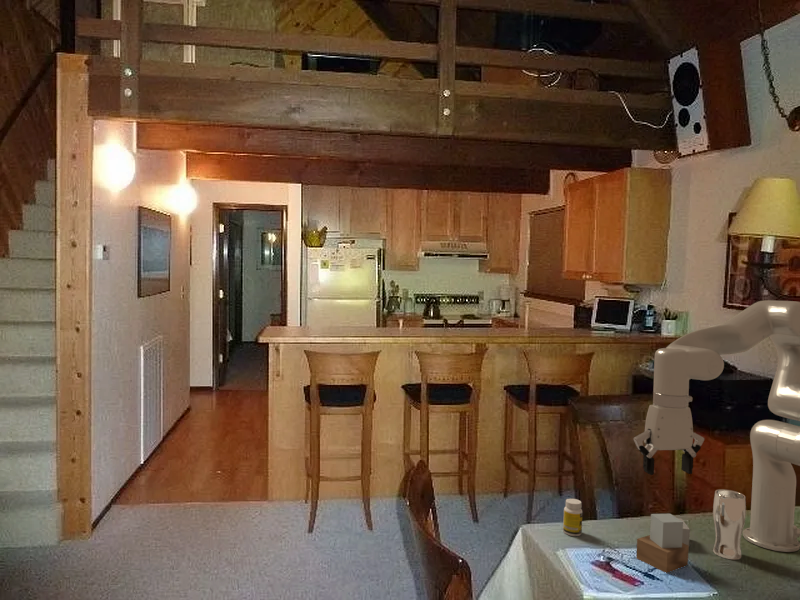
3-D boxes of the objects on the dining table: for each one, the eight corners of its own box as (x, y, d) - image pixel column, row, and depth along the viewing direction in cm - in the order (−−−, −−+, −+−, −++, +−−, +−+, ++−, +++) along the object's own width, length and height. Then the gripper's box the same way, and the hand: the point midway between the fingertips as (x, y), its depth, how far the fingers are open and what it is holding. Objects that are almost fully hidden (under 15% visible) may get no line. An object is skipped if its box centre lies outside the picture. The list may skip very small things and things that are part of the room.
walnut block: (657, 552, 143) (658, 532, 143) (687, 566, 136) (688, 545, 136) (636, 559, 139) (637, 538, 139) (666, 574, 132) (667, 552, 132)
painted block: (669, 538, 140) (670, 513, 140) (681, 547, 135) (683, 522, 135) (649, 538, 139) (651, 514, 139) (662, 548, 134) (663, 522, 134)
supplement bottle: (582, 537, 150) (583, 505, 149) (563, 535, 150) (565, 503, 150) (580, 530, 154) (581, 498, 154) (562, 528, 155) (563, 497, 155)
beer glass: (739, 550, 145) (742, 491, 145) (746, 563, 139) (749, 501, 138) (708, 545, 147) (711, 487, 147) (713, 557, 141) (716, 496, 140)
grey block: (680, 537, 152) (681, 518, 152) (688, 549, 145) (689, 529, 145) (652, 534, 154) (653, 515, 154) (659, 545, 147) (660, 526, 147)
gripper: (694, 397, 141) (691, 466, 142) (627, 397, 139) (625, 468, 140) (714, 404, 134) (711, 477, 134) (644, 404, 132) (642, 478, 132)
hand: (667, 472), depth 137 cm, fingers open, 9 cm apart
